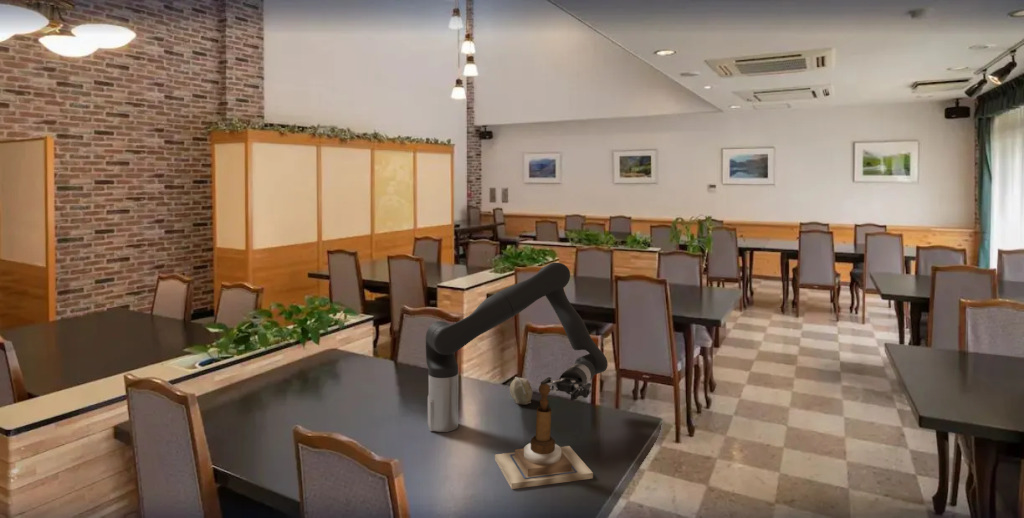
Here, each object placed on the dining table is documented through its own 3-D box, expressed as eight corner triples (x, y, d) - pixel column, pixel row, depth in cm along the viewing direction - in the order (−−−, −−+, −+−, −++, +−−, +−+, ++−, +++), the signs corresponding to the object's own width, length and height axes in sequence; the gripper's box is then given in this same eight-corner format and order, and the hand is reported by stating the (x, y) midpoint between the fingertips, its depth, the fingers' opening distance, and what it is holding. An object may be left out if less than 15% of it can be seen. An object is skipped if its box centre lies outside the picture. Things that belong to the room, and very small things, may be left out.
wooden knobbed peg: (553, 455, 159) (555, 389, 157) (528, 453, 160) (530, 387, 158) (555, 444, 166) (558, 381, 163) (532, 442, 167) (534, 379, 164)
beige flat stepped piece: (511, 489, 152) (511, 468, 152) (495, 459, 169) (495, 440, 168) (592, 478, 158) (593, 458, 158) (569, 450, 175) (569, 432, 174)
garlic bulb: (524, 413, 209) (523, 390, 205) (503, 404, 214) (502, 382, 209) (538, 398, 216) (538, 375, 212) (518, 389, 220) (517, 367, 216)
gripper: (554, 363, 189) (534, 378, 174) (598, 369, 183) (582, 385, 168) (553, 387, 189) (534, 403, 175) (597, 393, 184) (581, 411, 169)
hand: (557, 395), depth 171 cm, fingers open, 8 cm apart
